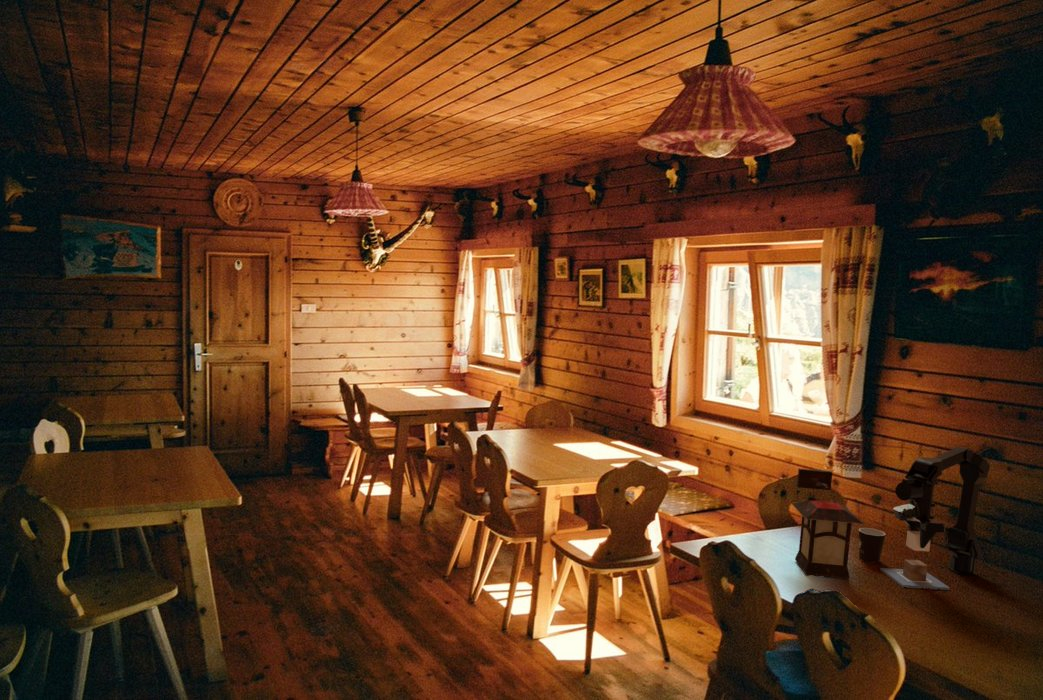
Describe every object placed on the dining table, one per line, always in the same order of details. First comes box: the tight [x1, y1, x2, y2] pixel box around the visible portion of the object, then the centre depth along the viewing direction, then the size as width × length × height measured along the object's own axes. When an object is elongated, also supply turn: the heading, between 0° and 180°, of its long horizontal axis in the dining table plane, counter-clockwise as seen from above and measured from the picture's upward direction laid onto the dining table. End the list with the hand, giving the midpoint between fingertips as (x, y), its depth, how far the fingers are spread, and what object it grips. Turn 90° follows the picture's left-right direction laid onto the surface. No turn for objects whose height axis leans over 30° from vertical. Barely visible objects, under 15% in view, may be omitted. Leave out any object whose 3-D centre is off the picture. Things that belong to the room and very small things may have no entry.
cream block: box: [905, 530, 932, 552], centre depth 254 cm, size 5×5×5 cm
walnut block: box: [903, 559, 928, 581], centre depth 255 cm, size 5×5×5 cm
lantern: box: [791, 468, 865, 580], centre depth 261 cm, size 18×26×30 cm
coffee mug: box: [858, 527, 886, 564], centre depth 274 cm, size 12×9×10 cm
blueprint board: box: [879, 567, 951, 591], centre depth 255 cm, size 15×15×1 cm
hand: (917, 545), depth 254 cm, fingers closed on cream block, 5 cm apart
